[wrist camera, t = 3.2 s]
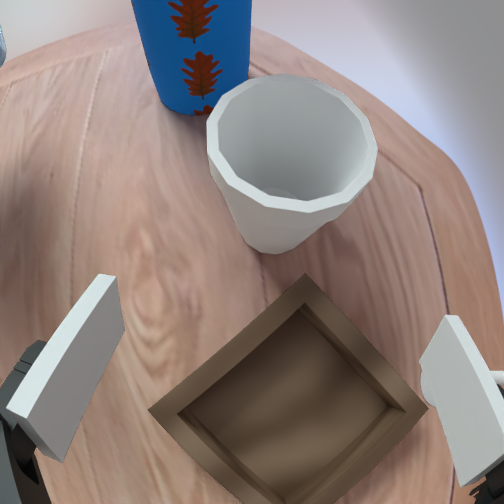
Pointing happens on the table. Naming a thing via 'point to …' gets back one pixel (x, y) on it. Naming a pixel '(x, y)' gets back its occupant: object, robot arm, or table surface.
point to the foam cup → (288, 157)
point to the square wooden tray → (291, 405)
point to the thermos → (195, 49)
